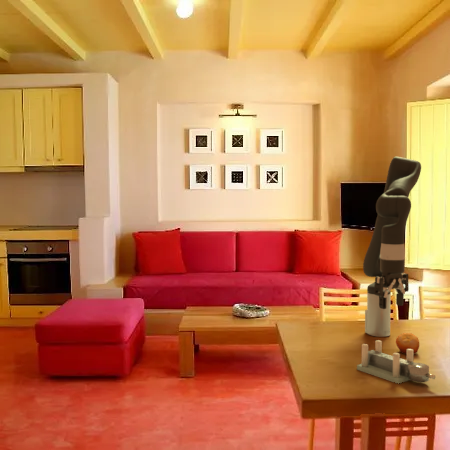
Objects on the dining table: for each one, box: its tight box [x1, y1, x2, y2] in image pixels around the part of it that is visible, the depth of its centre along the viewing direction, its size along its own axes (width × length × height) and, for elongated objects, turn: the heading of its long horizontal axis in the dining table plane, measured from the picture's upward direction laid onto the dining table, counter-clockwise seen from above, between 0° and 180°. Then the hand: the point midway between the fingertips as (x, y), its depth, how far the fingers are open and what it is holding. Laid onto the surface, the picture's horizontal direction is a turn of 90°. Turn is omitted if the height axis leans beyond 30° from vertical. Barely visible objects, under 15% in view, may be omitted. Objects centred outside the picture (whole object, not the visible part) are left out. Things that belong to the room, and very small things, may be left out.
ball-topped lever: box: [368, 349, 436, 383], centre depth 158 cm, size 24×6×4 cm, turn 35°
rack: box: [356, 339, 414, 385], centre depth 162 cm, size 16×10×8 cm, turn 35°
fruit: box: [395, 332, 420, 355], centre depth 184 cm, size 8×8×8 cm
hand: (391, 306), depth 164 cm, fingers open, 8 cm apart
